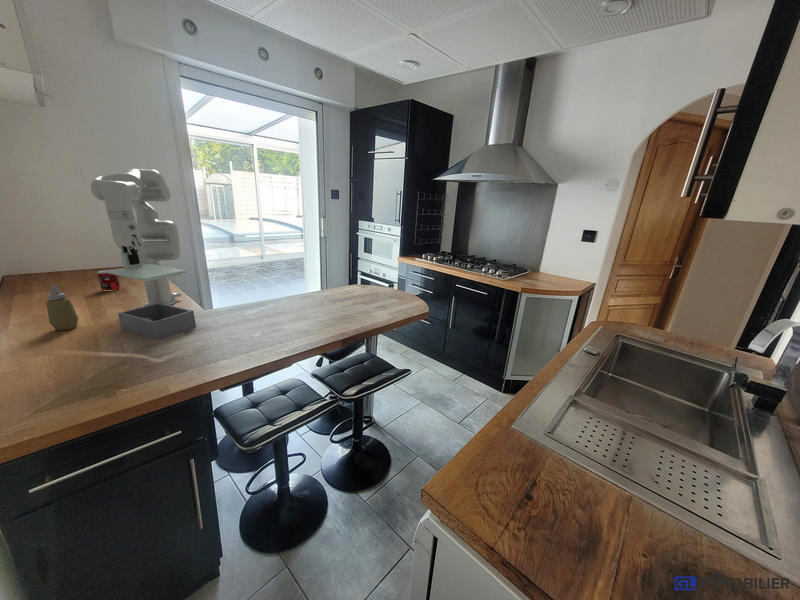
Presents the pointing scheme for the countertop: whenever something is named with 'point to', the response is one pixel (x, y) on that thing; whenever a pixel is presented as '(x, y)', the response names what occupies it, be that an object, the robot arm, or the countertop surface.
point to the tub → (157, 320)
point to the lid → (144, 270)
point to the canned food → (108, 280)
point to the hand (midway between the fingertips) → (132, 263)
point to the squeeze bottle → (60, 310)
